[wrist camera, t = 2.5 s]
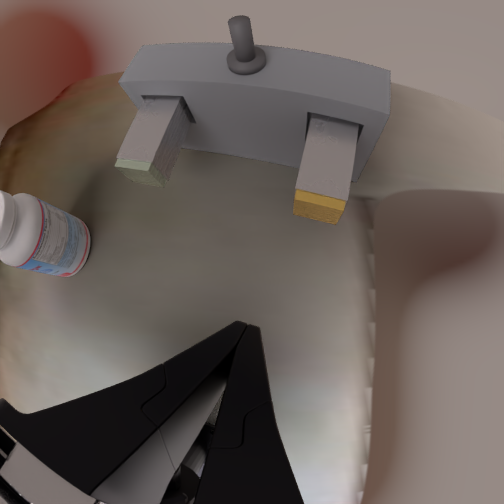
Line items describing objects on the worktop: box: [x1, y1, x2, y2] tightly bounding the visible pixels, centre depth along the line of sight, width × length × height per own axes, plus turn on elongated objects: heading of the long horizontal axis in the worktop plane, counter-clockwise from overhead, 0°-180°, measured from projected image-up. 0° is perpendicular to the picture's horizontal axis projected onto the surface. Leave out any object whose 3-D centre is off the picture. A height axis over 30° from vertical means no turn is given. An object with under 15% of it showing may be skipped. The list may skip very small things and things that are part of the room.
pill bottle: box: [0, 190, 90, 277], centre depth 21 cm, size 6×6×11 cm
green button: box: [115, 95, 194, 187], centre depth 20 cm, size 8×3×3 cm, turn 165°
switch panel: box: [119, 16, 390, 182], centre depth 19 cm, size 4×18×14 cm, turn 75°
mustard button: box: [293, 113, 359, 225], centre depth 18 cm, size 8×3×3 cm, turn 165°
